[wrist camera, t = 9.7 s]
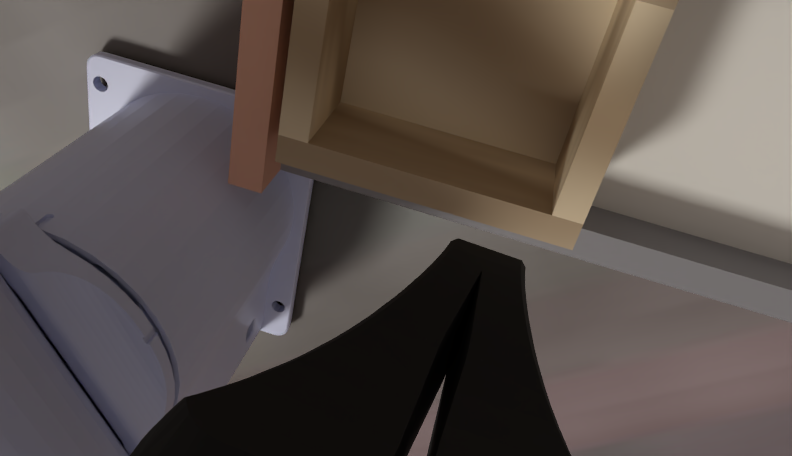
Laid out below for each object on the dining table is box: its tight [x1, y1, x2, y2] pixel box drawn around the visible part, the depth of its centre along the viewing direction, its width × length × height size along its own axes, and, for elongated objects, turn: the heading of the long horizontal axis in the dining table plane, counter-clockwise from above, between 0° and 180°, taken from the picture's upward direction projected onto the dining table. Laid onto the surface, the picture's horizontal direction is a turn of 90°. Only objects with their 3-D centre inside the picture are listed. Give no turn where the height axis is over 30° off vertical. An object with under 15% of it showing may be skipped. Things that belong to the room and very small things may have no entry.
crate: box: [275, 0, 679, 250], centre depth 18 cm, size 7×8×4 cm
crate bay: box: [228, 0, 792, 323], centre depth 18 cm, size 10×19×4 cm, turn 78°
